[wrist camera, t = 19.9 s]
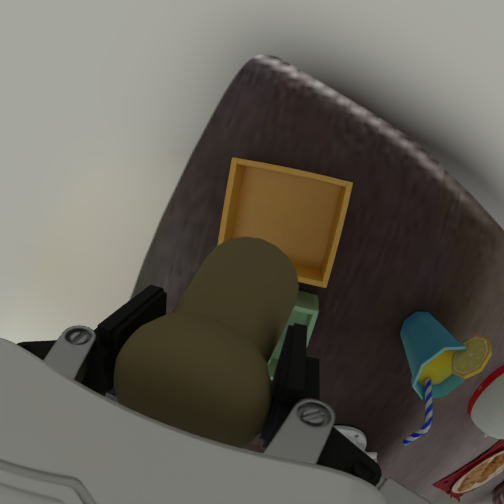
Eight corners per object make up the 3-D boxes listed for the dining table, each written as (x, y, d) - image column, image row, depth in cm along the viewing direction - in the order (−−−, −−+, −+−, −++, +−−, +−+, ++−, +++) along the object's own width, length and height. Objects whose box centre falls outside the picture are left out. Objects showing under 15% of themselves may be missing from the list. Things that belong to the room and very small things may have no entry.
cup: (403, 377, 35) (428, 452, 21) (364, 361, 36) (381, 443, 22) (459, 301, 31) (514, 361, 17) (421, 278, 31) (477, 340, 17)
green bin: (318, 294, 34) (319, 311, 30) (295, 364, 38) (293, 385, 33) (222, 272, 36) (211, 285, 32) (212, 343, 39) (201, 361, 35)
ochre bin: (346, 181, 30) (353, 182, 26) (324, 274, 34) (326, 288, 29) (241, 159, 32) (232, 157, 28) (226, 251, 35) (214, 261, 31)
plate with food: (522, 448, 35) (525, 455, 32) (456, 496, 43) (458, 503, 40) (513, 427, 35) (517, 435, 31) (432, 484, 42) (434, 493, 39)
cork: (211, 223, 16) (76, 301, 6) (312, 254, 16) (316, 394, 5) (192, 311, 18) (95, 431, 8) (281, 341, 18) (247, 494, 7)
